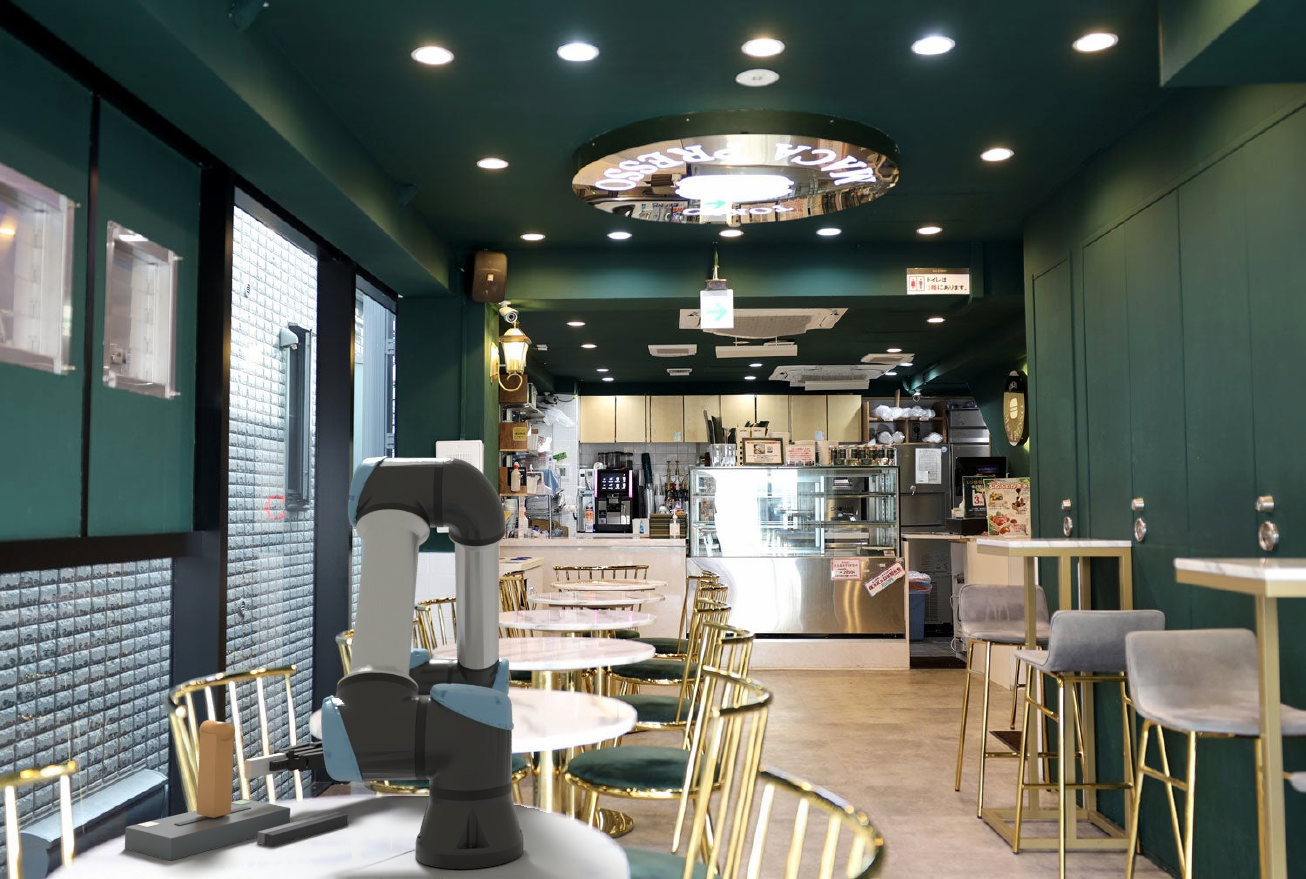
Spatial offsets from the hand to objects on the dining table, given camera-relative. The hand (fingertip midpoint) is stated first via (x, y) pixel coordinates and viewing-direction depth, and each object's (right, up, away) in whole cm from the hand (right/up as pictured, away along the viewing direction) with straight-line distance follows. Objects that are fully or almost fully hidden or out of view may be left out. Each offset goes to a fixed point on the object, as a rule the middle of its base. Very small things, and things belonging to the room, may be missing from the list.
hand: (247, 769), depth 164 cm
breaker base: (-3, -8, -6) cm, 11 cm away
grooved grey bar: (+10, -8, -4) cm, 14 cm away
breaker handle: (-3, -5, -6) cm, 8 cm away
